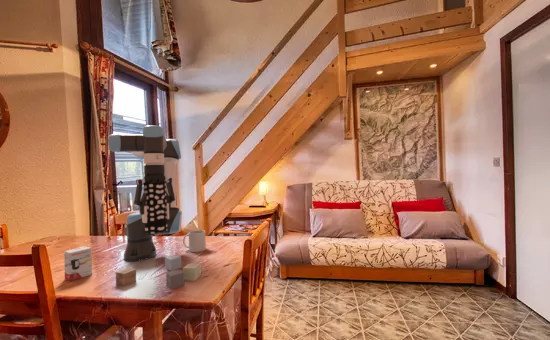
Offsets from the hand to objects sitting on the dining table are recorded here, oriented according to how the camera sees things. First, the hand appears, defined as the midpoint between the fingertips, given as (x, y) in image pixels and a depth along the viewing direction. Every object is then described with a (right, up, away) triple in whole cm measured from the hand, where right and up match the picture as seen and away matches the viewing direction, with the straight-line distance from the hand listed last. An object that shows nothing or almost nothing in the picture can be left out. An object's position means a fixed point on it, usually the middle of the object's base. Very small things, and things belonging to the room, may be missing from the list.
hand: (156, 220), depth 107 cm
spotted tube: (0, -5, 0) cm, 5 cm away
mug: (+4, -24, +41) cm, 47 cm away
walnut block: (-11, -25, -2) cm, 27 cm away
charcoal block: (+10, -24, -5) cm, 26 cm away
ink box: (-36, -26, +6) cm, 45 cm away
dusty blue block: (+2, -24, +14) cm, 28 cm away
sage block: (+14, -24, +2) cm, 28 cm away
